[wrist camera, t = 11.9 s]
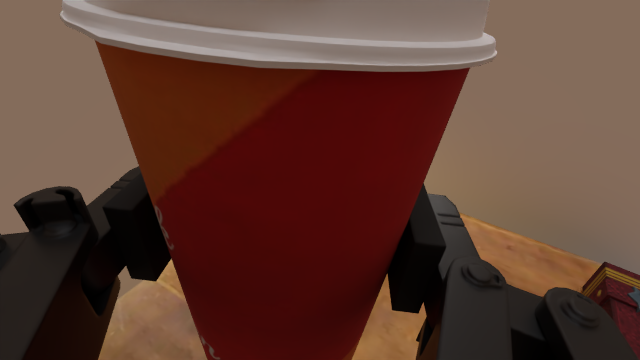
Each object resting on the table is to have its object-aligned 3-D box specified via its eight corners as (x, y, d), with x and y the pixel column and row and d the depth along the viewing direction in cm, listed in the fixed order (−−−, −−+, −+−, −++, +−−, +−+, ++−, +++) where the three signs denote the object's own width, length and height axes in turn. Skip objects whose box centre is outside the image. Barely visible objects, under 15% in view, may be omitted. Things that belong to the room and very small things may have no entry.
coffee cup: (248, 260, 18) (230, -48, 10) (382, 305, 16) (490, -25, 8) (136, 416, 11) (-190, -141, 3) (345, 521, 10) (732, -129, 2)
